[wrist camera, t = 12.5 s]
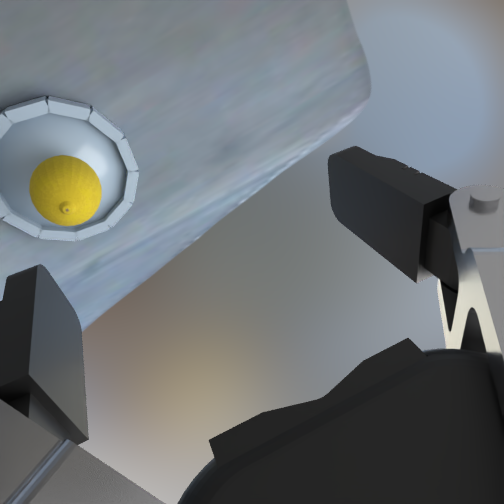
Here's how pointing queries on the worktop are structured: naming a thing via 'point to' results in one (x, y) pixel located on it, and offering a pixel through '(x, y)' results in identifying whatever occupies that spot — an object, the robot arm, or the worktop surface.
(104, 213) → the dish
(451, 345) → the robot arm
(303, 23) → the worktop surface
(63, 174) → the lemon
